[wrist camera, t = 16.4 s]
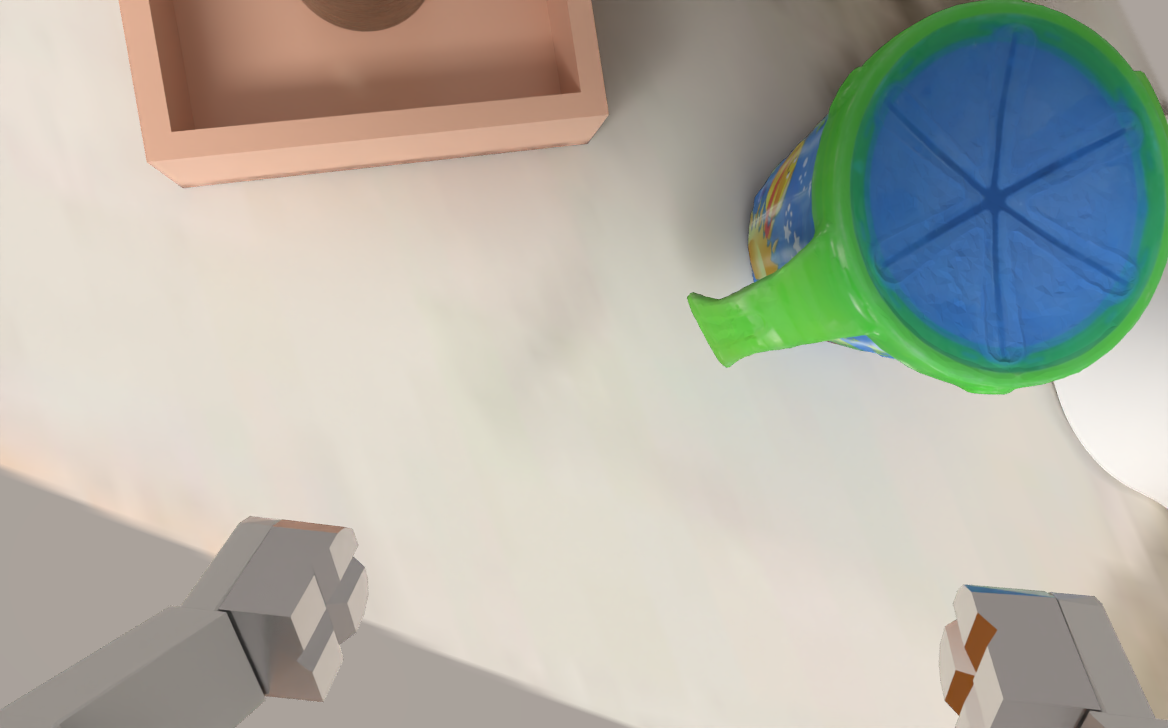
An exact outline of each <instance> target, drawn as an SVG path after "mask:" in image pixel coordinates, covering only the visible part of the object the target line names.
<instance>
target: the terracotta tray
mask: <svg viewBox="0 0 1168 728" xmlns="http://www.w3.org/2000/svg"><path fill="white" fill-rule="evenodd" d="M119 5H120V11H121V17H122V22H123V28H124V34H125V40H126V45H127V51H128V57H129V63H130V68H131V74H132V80H133V85H134V91H135V97H136V103H137V108H138V114H139V120H140V126H141V131H142V137H143V143H144V149H145V154H146V160H147V163H149V164H150V165H152V166H153V167H154V168H156V169H157V170H159V171H160V172H161V173H163V174H164V175H166V176H167V177H168V178H170V179H171V180H172V181H174V182H175V183H177V184H178V185H179V186H181V187H182V188H187V187H196V186H205V185H215V184H224V183H233V182H242V181H251V180H260V179H269V178H278V177H288V176H297V175H306V174H315V173H324V172H333V171H342V170H351V169H361V168H370V167H379V166H388V165H397V164H406V163H415V162H424V161H434V160H443V159H452V158H461V157H470V156H479V155H488V154H497V153H506V152H516V151H525V150H534V149H543V148H552V147H561V146H570V145H579V144H588V142H589V141H590V140H591V138H592V137H593V135H594V134H595V133H596V131H597V130H598V129H599V127H600V126H601V125H602V123H603V122H604V121H605V119H606V118H607V116H608V115H609V112H608V106H607V99H606V93H605V86H604V80H603V73H602V67H601V60H600V54H599V48H598V41H597V35H596V28H595V22H594V15H593V9H592V2H591V0H424V2H423V3H422V5H421V6H420V7H419V9H418V10H417V11H416V12H415V13H414V14H413V15H411V16H410V17H409V18H408V19H406V20H405V21H403V22H402V23H400V24H398V25H395V26H393V27H391V28H387V29H384V30H379V31H372V32H361V31H352V30H348V29H344V28H341V27H338V26H335V25H333V24H331V23H329V22H327V21H325V20H323V19H322V18H320V17H319V16H317V15H316V14H315V13H314V12H312V11H311V10H310V9H309V8H308V7H307V6H306V5H305V4H304V3H303V2H302V1H301V0H119Z"/></svg>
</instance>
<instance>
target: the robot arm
mask: <svg viewBox="0 0 1168 728" xmlns="http://www.w3.org/2000/svg"><path fill="white" fill-rule="evenodd" d="M1165 117H1166V120H1167V123H1168V115H1165ZM1054 384H1055V388H1056V391H1057V394H1058V398H1059V401H1060V403H1061V406H1062V408H1063V411H1064V413H1065V415H1066V417H1067V420H1068V422H1069V424H1070V425H1071V427H1072V429H1073V431H1074V433H1075V434H1076V436H1077V437H1078V439H1079V441H1080V442H1081V443H1082V445H1083V446H1084V447H1085V449H1086V450H1087V452H1088V453H1089V454H1090V455H1091V456H1092V457H1093V459H1094V460H1095V461H1096V462H1097V463H1098V464H1099V465H1100V466H1101V467H1102V468H1103V469H1104V470H1106V471H1107V472H1108V473H1109V474H1110V475H1112V476H1113V477H1114V478H1115V479H1117V480H1118V481H1120V482H1121V483H1123V484H1124V485H1126V486H1128V487H1129V488H1131V489H1133V490H1135V491H1137V492H1139V493H1141V494H1143V495H1145V496H1147V497H1149V498H1151V499H1153V500H1155V501H1157V502H1158V503H1160V504H1161V505H1163V506H1164V507H1165V508H1167V509H1168V259H1167V263H1166V266H1165V268H1164V271H1163V274H1162V277H1161V280H1160V282H1159V284H1158V286H1157V288H1156V291H1155V293H1154V295H1153V297H1152V299H1151V301H1150V303H1149V305H1148V306H1147V308H1146V309H1145V311H1144V312H1143V314H1142V315H1141V317H1140V319H1139V320H1138V322H1137V323H1136V324H1135V325H1134V327H1133V328H1132V329H1131V330H1130V331H1129V332H1128V333H1127V334H1126V335H1125V336H1124V338H1123V339H1122V340H1121V341H1120V342H1119V343H1118V344H1117V345H1116V346H1115V347H1114V348H1113V349H1112V350H1110V351H1109V352H1108V353H1107V354H1105V355H1104V356H1102V357H1101V358H1100V359H1098V360H1097V361H1096V362H1094V363H1093V364H1091V365H1090V366H1089V367H1087V368H1085V369H1083V370H1082V371H1081V372H1079V373H1076V374H1073V375H1070V376H1068V377H1065V378H1063V379H1059V380H1056V381H1054ZM357 547H358V543H357V540H356V537H355V534H354V531H353V529H351V528H347V527H340V526H332V525H323V524H315V523H307V522H299V521H291V520H280V519H271V518H262V517H253V516H249V517H248V518H246V519H245V520H243V521H242V522H240V523H239V524H238V525H237V527H236V528H235V530H234V531H233V532H232V534H231V535H230V537H229V538H228V540H227V541H226V542H225V544H224V545H223V547H222V548H221V549H220V551H219V552H218V554H217V555H216V556H215V558H214V559H213V561H212V562H211V564H210V565H209V567H208V568H207V569H206V571H205V572H204V574H203V575H202V576H201V578H200V579H199V581H198V582H197V583H196V585H195V586H194V588H193V589H192V590H191V592H190V593H189V595H188V596H187V598H186V599H185V600H184V602H183V603H182V605H181V606H169V607H168V608H166V609H164V610H163V611H161V612H159V613H158V614H156V615H154V616H153V617H151V618H149V619H148V620H146V621H145V622H143V623H141V624H140V625H138V626H136V627H135V628H133V629H131V630H130V631H128V632H126V633H125V634H123V635H122V636H120V637H118V638H117V639H115V640H113V641H112V642H110V643H108V644H107V645H105V646H104V647H102V648H100V649H99V650H97V651H96V652H94V653H92V654H91V655H89V656H87V657H86V658H84V659H82V660H81V661H79V662H77V663H76V664H74V665H73V666H71V667H69V668H68V669H66V670H64V671H63V672H61V673H59V674H58V675H56V676H54V677H53V678H51V679H50V680H48V681H47V682H45V683H43V684H41V685H40V686H38V687H37V688H35V689H33V690H32V691H30V692H28V693H27V694H25V695H23V696H22V697H20V698H19V699H17V700H15V701H14V702H12V703H10V704H9V705H7V706H5V707H4V708H2V709H1V710H0V728H235V727H236V726H237V725H238V724H239V723H241V722H242V721H243V720H244V719H245V718H246V717H247V716H248V715H250V714H251V713H252V712H253V711H254V710H255V709H256V708H257V707H259V706H260V705H261V704H262V703H263V702H264V701H265V700H266V698H265V696H267V697H278V698H287V699H297V700H307V701H317V702H324V700H325V698H326V696H327V694H328V692H329V690H330V687H331V685H332V683H333V681H334V679H335V677H336V675H337V673H338V671H339V669H340V666H341V664H342V662H343V656H342V652H341V649H340V644H341V643H343V642H344V641H345V640H347V639H348V638H349V637H351V636H352V635H354V634H355V633H356V632H357V630H358V628H359V625H360V623H361V621H362V618H363V616H364V613H365V608H366V604H367V599H368V577H367V574H366V570H365V567H364V566H363V565H362V564H361V563H360V562H359V561H358V560H356V559H355V558H354V557H353V555H354V553H355V551H356V549H357ZM953 606H954V610H955V614H956V618H957V619H956V620H955V621H953V622H951V623H950V624H948V625H946V626H945V628H944V632H943V635H942V639H941V642H940V653H939V671H940V681H941V686H942V691H943V695H944V700H945V702H946V703H947V704H948V705H949V706H950V707H951V708H952V709H953V710H954V711H955V712H956V713H957V714H958V715H959V718H958V720H957V723H956V726H955V728H1168V720H1164V719H1157V718H1155V716H1154V714H1153V712H1152V710H1151V707H1150V705H1149V703H1148V701H1147V699H1146V697H1145V695H1144V692H1143V690H1142V688H1141V686H1140V684H1139V682H1138V680H1137V677H1136V675H1135V673H1134V671H1133V669H1132V667H1131V665H1130V662H1129V660H1128V658H1127V656H1126V654H1125V652H1124V650H1123V647H1122V645H1121V643H1120V641H1119V639H1118V637H1117V634H1116V632H1115V630H1114V628H1113V626H1112V624H1111V622H1110V619H1109V617H1108V615H1107V613H1106V611H1105V609H1104V607H1103V604H1102V603H1101V602H1100V601H1099V600H1098V599H1097V598H1096V597H1095V596H1086V595H1075V594H1064V593H1053V592H1049V593H1047V592H1045V591H1036V590H1024V589H1012V588H1000V587H988V586H976V585H962V586H961V587H960V589H959V590H958V591H957V594H956V596H955V599H954V602H953Z"/></svg>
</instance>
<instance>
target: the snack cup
mask: <svg viewBox="0 0 1168 728" xmlns="http://www.w3.org/2000/svg"><path fill="white" fill-rule="evenodd" d="M748 234H749V238H748V250H749V256H750V263H751V267H752V272H753V279H754V283H752V284H750V285H748V286H746V287H744V288H742V289H741V290H739V291H737V292H735V293H733V294H731V295H729V296H727V297H724V298H722V299H714V298H710V297H705V296H703V295H701V294H697V293H694V292H693V293H690V295H689V296H688V297H687V299H688V302H689V305H690V308H691V311H692V313H693V315H694V317H695V319H696V320H697V323H698V325H699V327H700V329H701V331H702V332H703V334H704V336H705V338H706V340H707V342H708V344H709V345H710V347H711V349H712V350H713V352H714V354H715V356H716V357H717V359H718V360H719V362H720V363H721V364H722V365H724V366H725V367H726V368H727V367H730V366H731V365H733V364H734V363H735V362H736V361H738V360H739V359H742V358H744V357H746V356H750V355H752V354H754V353H759V352H765V351H769V350H780V349H785V348H792V347H796V346H799V345H804V344H811V343H817V342H822V341H828V342H831V343H834V344H838V345H843V346H846V347H849V348H853V349H856V350H860V351H868V352H873V353H877V354H879V355H880V356H882V357H888V358H893V359H896V360H898V361H900V362H901V363H903V364H904V365H906V366H907V367H909V368H911V369H913V370H915V371H917V372H919V373H922V374H925V375H928V376H930V377H933V378H936V379H939V380H941V381H945V382H948V383H951V384H954V385H956V386H958V387H960V388H962V389H964V390H965V391H967V392H970V393H978V394H1007V393H1010V392H1011V391H1013V390H1014V389H1017V388H1022V387H1030V386H1035V385H1042V384H1046V383H1049V382H1052V381H1056V380H1059V379H1063V378H1065V377H1068V376H1070V375H1073V374H1076V373H1079V372H1081V371H1082V370H1083V369H1085V368H1087V367H1089V366H1090V365H1091V364H1093V363H1094V362H1096V361H1097V360H1098V359H1100V358H1101V357H1102V356H1104V355H1105V354H1107V353H1108V352H1109V351H1110V350H1112V349H1113V348H1114V347H1115V346H1116V345H1117V344H1118V343H1119V342H1120V341H1121V340H1122V339H1123V338H1124V336H1125V335H1126V334H1127V333H1128V332H1129V331H1130V330H1131V329H1132V328H1133V327H1134V325H1135V324H1136V323H1137V322H1138V320H1139V319H1140V317H1141V315H1142V314H1143V312H1144V311H1145V309H1146V308H1147V306H1148V305H1149V303H1150V301H1151V299H1152V297H1153V295H1154V293H1155V291H1156V288H1157V286H1158V284H1159V282H1160V280H1161V277H1162V274H1163V271H1164V268H1165V266H1166V263H1167V259H1168V123H1167V120H1166V117H1165V115H1164V113H1163V110H1162V108H1161V105H1160V103H1159V101H1158V98H1157V96H1156V94H1155V92H1154V90H1153V88H1152V86H1151V84H1150V82H1149V81H1148V79H1147V77H1146V76H1145V74H1144V73H1142V72H1141V71H1133V70H1132V68H1131V67H1130V66H1129V64H1128V63H1127V62H1126V61H1125V59H1124V58H1123V57H1122V56H1121V55H1120V54H1119V53H1118V51H1117V50H1116V49H1115V48H1114V47H1113V46H1111V45H1110V44H1109V43H1108V42H1107V41H1106V40H1105V39H1103V38H1102V37H1101V36H1100V35H1098V34H1097V33H1096V32H1094V31H1093V30H1092V29H1090V28H1089V27H1087V26H1085V25H1084V24H1082V23H1080V22H1079V21H1077V20H1075V19H1073V18H1071V17H1069V16H1067V15H1065V14H1064V13H1061V12H1058V11H1055V10H1052V9H1049V8H1047V7H1045V6H1042V5H1036V4H1033V3H1028V2H1024V1H1022V0H983V1H976V2H970V3H965V4H960V5H956V6H953V7H950V8H947V9H944V10H941V11H939V12H937V13H934V14H932V15H930V16H928V17H926V18H924V19H922V20H921V21H919V22H917V23H916V24H914V25H912V26H911V27H909V28H907V29H905V30H904V31H902V32H901V33H899V34H898V35H896V36H895V37H894V38H892V39H891V40H890V41H889V42H887V43H886V44H885V45H883V46H882V47H881V48H880V49H879V50H878V51H877V52H875V53H874V54H873V55H872V56H871V57H870V58H869V59H868V60H867V61H866V62H865V63H864V64H863V65H862V67H858V68H856V69H854V70H853V71H852V72H851V73H850V74H849V76H848V77H847V78H846V80H845V81H844V83H843V84H842V85H841V87H840V88H839V90H838V92H837V95H836V97H835V98H834V100H833V102H832V104H831V106H830V109H829V113H828V115H827V116H826V117H825V118H824V119H823V120H822V121H821V122H819V123H818V125H817V126H816V127H815V128H814V129H813V130H812V131H811V132H810V134H809V135H808V136H807V137H806V138H805V139H803V140H802V141H801V142H800V143H799V144H798V145H797V146H796V147H795V148H794V149H793V150H792V151H791V153H790V154H789V156H788V157H787V158H785V159H784V160H783V161H782V162H781V163H780V164H779V165H778V166H777V167H776V168H775V169H774V170H773V172H772V173H771V175H770V176H769V178H768V180H767V181H766V183H765V185H764V186H763V187H762V189H761V190H760V191H759V192H758V193H757V195H756V197H755V199H754V207H753V210H752V213H751V217H750V224H749V232H748Z"/></svg>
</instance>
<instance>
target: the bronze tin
mask: <svg viewBox="0 0 1168 728" xmlns="http://www.w3.org/2000/svg"><path fill="white" fill-rule="evenodd" d="M301 1H302V2H303V3H304V4H305V5H306V6H307V7H308V8H309V9H310V10H311V11H312V12H314V13H315V14H316V15H317V16H319V17H320V18H322V19H323V20H325V21H327V22H329V23H331V24H333V25H335V26H338V27H341V28H344V29H348V30H352V31H361V32H372V31H379V30H384V29H387V28H391V27H393V26H395V25H398V24H400V23H402V22H403V21H405V20H406V19H408V18H409V17H410V16H411V15H413V14H414V13H415V12H416V11H417V10H418V9H419V7H420V6H421V5H422V3H423V2H424V0H301Z"/></svg>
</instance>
